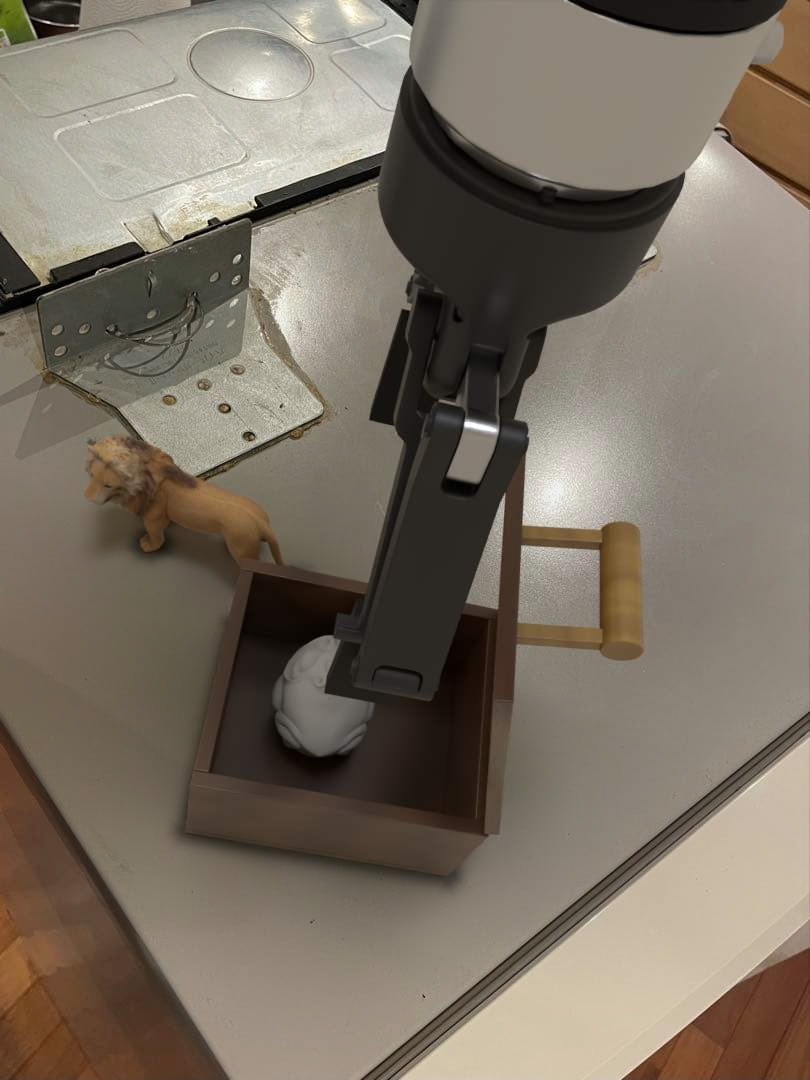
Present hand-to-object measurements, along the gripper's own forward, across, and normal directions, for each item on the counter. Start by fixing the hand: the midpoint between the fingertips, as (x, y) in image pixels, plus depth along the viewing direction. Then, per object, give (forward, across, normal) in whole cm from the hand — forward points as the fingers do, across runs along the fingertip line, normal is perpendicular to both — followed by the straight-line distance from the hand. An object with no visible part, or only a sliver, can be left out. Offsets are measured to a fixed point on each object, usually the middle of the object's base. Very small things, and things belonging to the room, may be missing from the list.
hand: (380, 544), depth 42 cm
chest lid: (+6, 0, -7) cm, 9 cm away
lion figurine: (+24, +11, +10) cm, 28 cm away
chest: (+23, 0, -2) cm, 23 cm away
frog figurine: (+23, 0, 0) cm, 23 cm away
